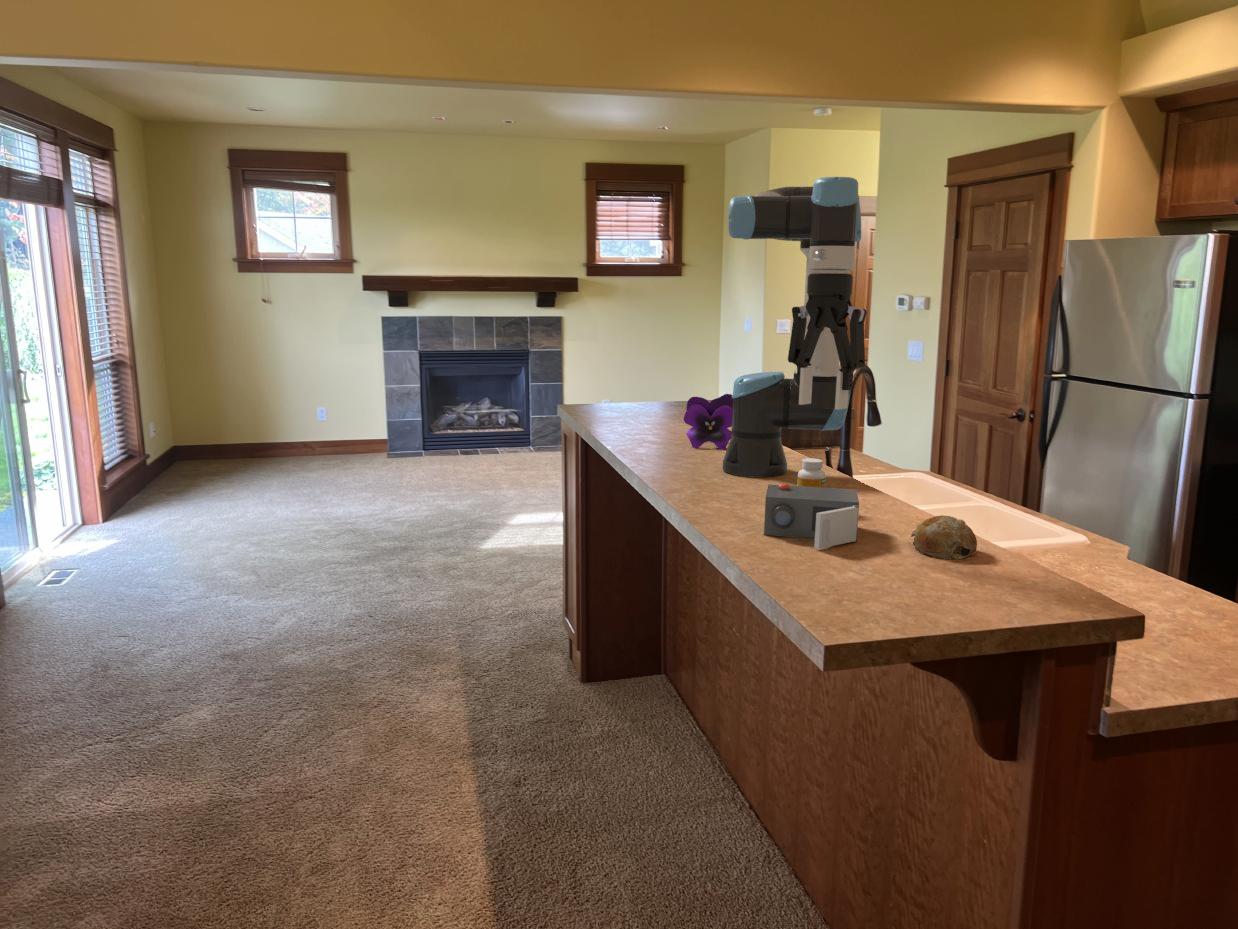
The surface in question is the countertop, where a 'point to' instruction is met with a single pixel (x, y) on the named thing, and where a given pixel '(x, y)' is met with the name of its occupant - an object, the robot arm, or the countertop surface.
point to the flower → (709, 420)
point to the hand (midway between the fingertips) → (822, 406)
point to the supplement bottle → (811, 473)
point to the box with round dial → (801, 508)
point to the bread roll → (945, 538)
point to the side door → (836, 527)
